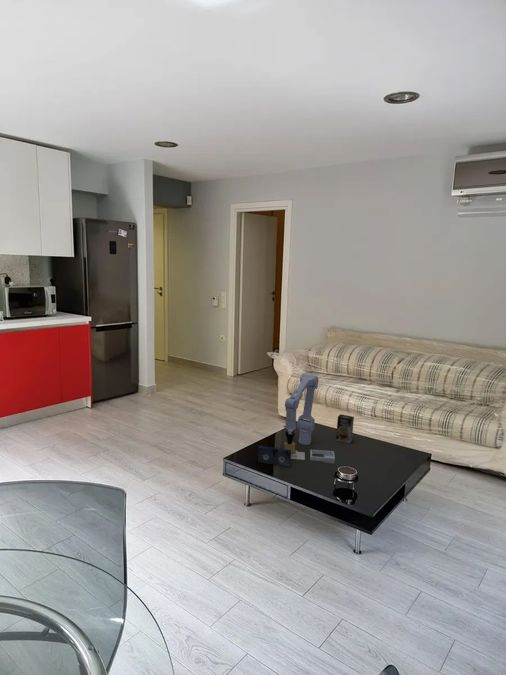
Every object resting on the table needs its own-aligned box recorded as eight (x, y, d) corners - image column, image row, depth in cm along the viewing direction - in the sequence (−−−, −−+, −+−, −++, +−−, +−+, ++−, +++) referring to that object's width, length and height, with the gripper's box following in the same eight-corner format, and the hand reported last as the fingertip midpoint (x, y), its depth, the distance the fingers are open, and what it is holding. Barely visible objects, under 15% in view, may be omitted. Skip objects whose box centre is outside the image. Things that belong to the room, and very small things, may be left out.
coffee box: (335, 440, 287) (337, 416, 285) (338, 437, 293) (340, 413, 290) (349, 443, 283) (351, 419, 281) (352, 440, 289) (354, 416, 286)
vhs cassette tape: (290, 466, 250) (291, 449, 248) (289, 469, 247) (290, 451, 245) (258, 461, 254) (259, 445, 253) (257, 464, 252) (257, 447, 250)
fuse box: (274, 451, 268) (274, 447, 268) (304, 453, 266) (304, 449, 266) (273, 458, 258) (273, 454, 258) (304, 461, 257) (304, 457, 256)
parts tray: (310, 454, 266) (310, 449, 265) (333, 456, 265) (333, 451, 264) (310, 461, 256) (310, 456, 256) (334, 463, 255) (334, 458, 254)
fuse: (284, 453, 264) (284, 441, 263) (294, 454, 263) (295, 442, 262) (283, 455, 261) (284, 444, 260) (294, 456, 260) (294, 444, 259)
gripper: (284, 414, 266) (283, 436, 268) (283, 422, 252) (282, 445, 254) (296, 415, 265) (295, 437, 268) (296, 423, 251) (294, 446, 253)
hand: (289, 441), depth 261 cm, fingers open, 7 cm apart
